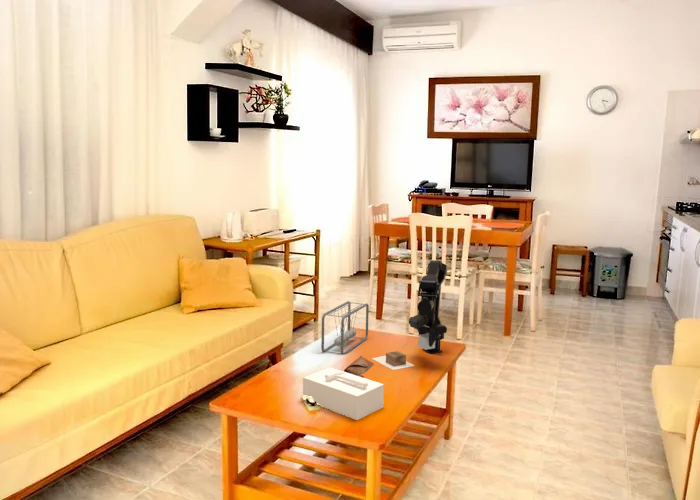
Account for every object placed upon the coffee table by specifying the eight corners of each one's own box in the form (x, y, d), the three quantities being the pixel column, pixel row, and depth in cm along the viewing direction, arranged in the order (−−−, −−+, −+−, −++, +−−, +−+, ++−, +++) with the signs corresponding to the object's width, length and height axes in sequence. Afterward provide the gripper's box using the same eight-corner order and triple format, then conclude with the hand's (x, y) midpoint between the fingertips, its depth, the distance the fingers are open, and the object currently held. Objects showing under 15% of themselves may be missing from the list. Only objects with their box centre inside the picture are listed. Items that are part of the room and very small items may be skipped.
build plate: (392, 356, 264) (392, 354, 264) (414, 367, 251) (415, 365, 250) (371, 360, 258) (371, 358, 258) (393, 372, 245) (393, 369, 245)
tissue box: (329, 389, 227) (330, 361, 225) (383, 407, 211) (384, 377, 209) (302, 400, 216) (303, 371, 214) (357, 421, 200) (357, 389, 198)
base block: (397, 360, 257) (397, 350, 256) (405, 364, 252) (406, 355, 251) (385, 362, 254) (386, 353, 253) (394, 366, 249) (394, 357, 248)
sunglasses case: (363, 378, 237) (355, 363, 237) (348, 385, 239) (341, 370, 240) (377, 364, 254) (370, 350, 254) (364, 370, 256) (356, 356, 256)
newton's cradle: (342, 357, 262) (343, 317, 260) (320, 353, 267) (321, 314, 264) (368, 338, 290) (369, 302, 287) (348, 335, 294) (348, 300, 291)
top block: (427, 344, 257) (427, 333, 256) (434, 348, 253) (435, 336, 252) (418, 346, 254) (418, 334, 253) (425, 349, 250) (425, 338, 249)
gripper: (399, 305, 255) (397, 341, 257) (426, 315, 239) (425, 354, 241) (420, 302, 260) (418, 337, 263) (448, 312, 245) (446, 349, 247)
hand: (426, 344), depth 253 cm, fingers closed on top block, 5 cm apart
